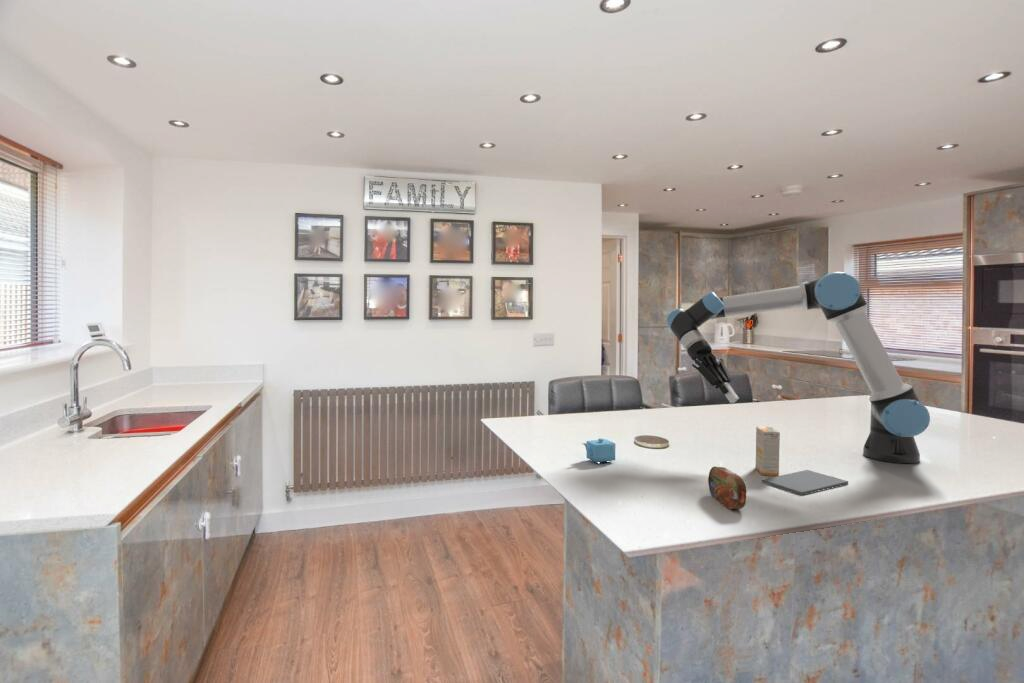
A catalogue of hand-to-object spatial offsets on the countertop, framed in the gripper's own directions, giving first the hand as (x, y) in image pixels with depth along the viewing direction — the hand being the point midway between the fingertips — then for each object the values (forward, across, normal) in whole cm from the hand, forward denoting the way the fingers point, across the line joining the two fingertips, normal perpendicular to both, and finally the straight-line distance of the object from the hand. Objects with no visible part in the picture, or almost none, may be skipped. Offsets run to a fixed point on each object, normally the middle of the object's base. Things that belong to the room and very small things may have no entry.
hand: (734, 400), depth 166 cm
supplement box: (+23, 0, -6) cm, 23 cm away
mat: (+31, 0, +3) cm, 31 cm away
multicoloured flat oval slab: (+32, +32, +4) cm, 45 cm away
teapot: (0, +39, -28) cm, 48 cm away
